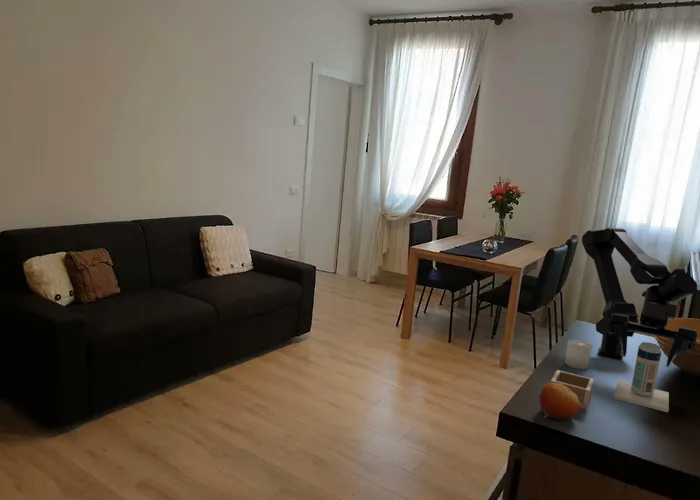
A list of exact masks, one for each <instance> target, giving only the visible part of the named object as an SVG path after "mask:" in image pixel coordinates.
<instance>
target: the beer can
mask: <svg viewBox="0 0 700 500" xmlns="http://www.w3.org/2000/svg"><path fill="white" fill-rule="evenodd" d="M636 354H637V355H636V359H635V365H634V370H633V377H632V382H631V383H632V386H631V390H632V391H633V392H634V393H635V394H637V395H640V396H644V397H649V396H652V395H653V394H654V389H656V388H655V387H656V382H657V377H658V373H659V372H658V371H659V367H660V362H661V361H660V360H661V356H662V350H661V346H659V345H657V344H656V343H652V342H646V341H643V342H640V344H639V346H638V348H637V353H636Z"/></svg>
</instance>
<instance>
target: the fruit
mask: <svg viewBox="0 0 700 500" xmlns="http://www.w3.org/2000/svg"><path fill="white" fill-rule="evenodd" d="M539 405H540V409H541V410H542V411H543V413H544V416H543V419H545V418H547V417H551V418H554V419H556V420H559V421H561V420H562V421H569V420H571V419H572V418H573V417H574V416H575V415H576V414H577V413H578V412H579V408H580V406H581V403H580V402H579V400H578V397H577V395H576V394H575V393H574V392H572V391H571V390H570V389H569V388H568V387H566V386H564V385H563V384H561V383H552V382H551V381H550V382H548V383H546V384H545V385H544V386H543V388H542V390H541V391H540V394H539Z"/></svg>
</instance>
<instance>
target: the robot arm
mask: <svg viewBox="0 0 700 500" xmlns="http://www.w3.org/2000/svg"><path fill="white" fill-rule="evenodd" d="M581 243H582V246H583V248H584V251H585V253H586V254H587V255H588V256H589V257H590V258H591V259H592V260H593V262H594V265H595V270H596V273H597V276H598V280H599V284H600V287H601V292H602V294H603V298H604V301H605V306H604V308H603V311H602V318H601V319H600V320H598V322H597V323H596V324H595V331H596V332H597V333H599V334H601V335H602V337H601V343H600V347H598V351H597V353H596V354H597V355H599V356H603V357H607V358H613V359H615V360H621V361H622V360H623V358H624V357H626V356H627V350H628V349H627V347H628V337H629V338H633V336H634V334H635V332H638V333H644V334H647V335H650V336H651V335H652V336H655V337H656V336H657V337H660V338H661V337H662V338H666V339H670V340H673V344H672V346H671V349H670V352H669V355H668V357H667V360H666V361H667V362H666V364H665V365H666V366H665V367H667V368H669V366H670V365H671V364H672V363H673V361H674V359H675V358H676V357H677V356H678V355H679V354H681V352H687V350H689V351H692V350H694V348H695V347H696V342H697V338H698V332H697V331H696V329H694V328H693V329H692V328H689V327H684V326H678V328H677V331H676V330H675V331H674V330H670V329H666V328H667V325H668V321H669V319H672V320H675V319H676V315H677V309H678V305H676V304H672V303H676V302H679V301H681V300H683V299H685V298H687V297H689V296H691V295H693V294H695V293H696V292H697V290H698V283H697V281H696V280H695V279H694V277H692V275H690V274H689V273H687V272H686V270H685V269H684V268H675V269H674V270H673V271H672V272H671V271H670V270H669V269H668V267H667V265H666V264H664V263H663V262H662V261H660V260H659V259H657V258H654V257H652V256H649V255H648V254H647V253H646V252H645V251H644V250H643V249H642V248H641V247H640V246H639V245H638V244H637V242H635V241H634V239H632V237H630V235H629V234H628V231H627V230H626V229H625V228H623V227H607V228H603V229H598V230H591V229H589V230H587V231H586V232H584V234H583V235H582V237H581ZM614 250H617V252H618V254H620V256H621V257H622V258H623V259H624V260H625V261H626V262H627V263H628V265H629V266H630V268H629V269H630V271H629V272H630V274H631V276H632V277H633V279H634V281H635V282H636V283H637V284H639V285H650V286H649V287H647V288H646V289H645V291H643V292H642V293H641V297H644V301H643V306H642V310H641V313H640V316H639V315H638V313H637V309H636V305H635V304H634V303H632V302H631V303H630V302H627V300H625V297H624V293H623V291H622V287H621V284H620V283H621V282H620V280H619V277H618V273H617V270H616V267H615V262H614V259H613V256H612V254H613V253H614ZM638 318H639V319H638Z"/></svg>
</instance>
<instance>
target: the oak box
mask: <svg viewBox="0 0 700 500" xmlns="http://www.w3.org/2000/svg"><path fill="white" fill-rule="evenodd" d="M594 381H595V379H594V378H591V377H589V376H583V375H579V374H575V373H572V372H571V373H570V372H568V371H563V370H561V369H560V370H559V369H557V370H556V371H555V373H554V375H553V376H552V378H551V379H550V383H551V382H552V383H561V384H563V385H564V386H566V387H568V388H569V389H570V390H571V391H572V392H574V393H575V394H576V395H577V397H578V400H579V402H580V403H581V406H580V408H579V411H580V412H584V413H587V412H588V408H589V406H590V402H591V400H592V394H593V387H594ZM579 411H578V412H579Z"/></svg>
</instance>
